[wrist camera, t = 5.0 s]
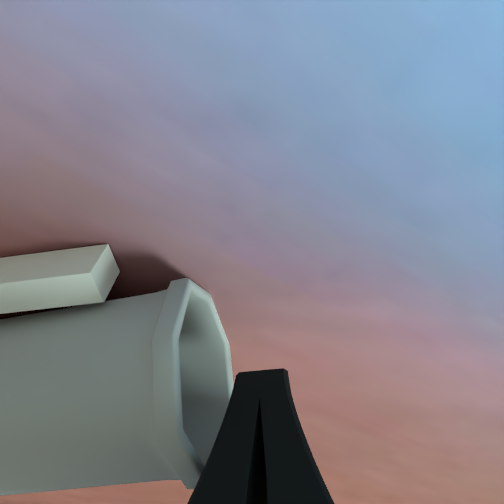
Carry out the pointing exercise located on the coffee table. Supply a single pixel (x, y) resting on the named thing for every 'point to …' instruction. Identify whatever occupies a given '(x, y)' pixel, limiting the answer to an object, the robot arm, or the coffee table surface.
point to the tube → (113, 392)
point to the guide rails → (56, 278)
